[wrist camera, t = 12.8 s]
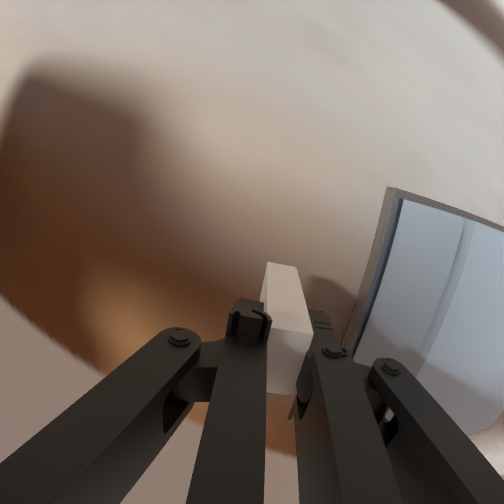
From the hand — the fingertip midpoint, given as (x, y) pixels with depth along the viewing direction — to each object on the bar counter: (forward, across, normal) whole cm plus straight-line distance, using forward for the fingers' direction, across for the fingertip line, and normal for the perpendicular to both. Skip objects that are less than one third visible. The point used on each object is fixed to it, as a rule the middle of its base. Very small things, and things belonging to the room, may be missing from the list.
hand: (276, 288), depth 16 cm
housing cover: (+2, -11, 0) cm, 12 cm away
